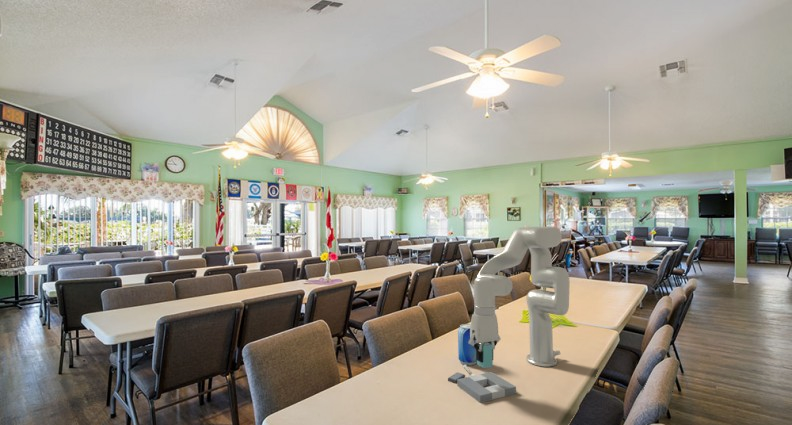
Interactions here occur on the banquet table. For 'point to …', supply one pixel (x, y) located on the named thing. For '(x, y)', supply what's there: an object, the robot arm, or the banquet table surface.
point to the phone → (456, 377)
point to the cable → (468, 370)
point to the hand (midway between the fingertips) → (484, 359)
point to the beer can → (466, 346)
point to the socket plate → (481, 394)
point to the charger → (486, 356)
